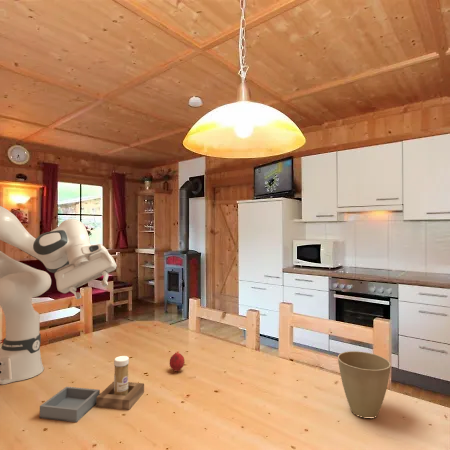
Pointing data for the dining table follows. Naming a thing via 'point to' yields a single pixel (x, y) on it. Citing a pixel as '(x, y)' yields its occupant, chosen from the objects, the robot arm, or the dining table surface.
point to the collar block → (120, 397)
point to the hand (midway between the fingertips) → (92, 291)
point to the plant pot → (364, 381)
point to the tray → (69, 404)
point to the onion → (177, 361)
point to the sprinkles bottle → (121, 375)
